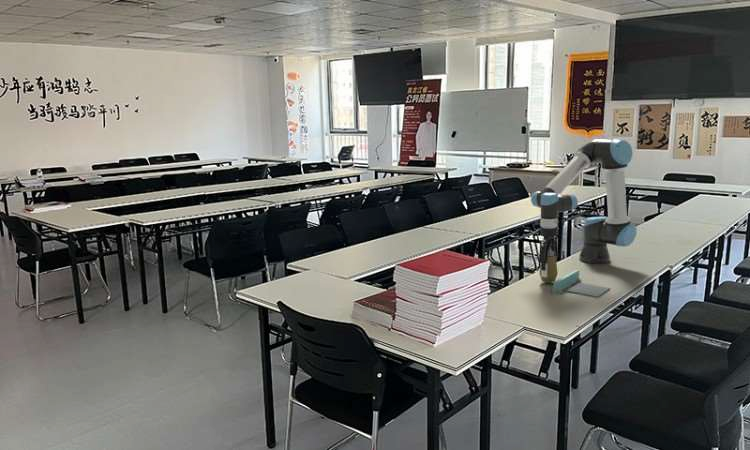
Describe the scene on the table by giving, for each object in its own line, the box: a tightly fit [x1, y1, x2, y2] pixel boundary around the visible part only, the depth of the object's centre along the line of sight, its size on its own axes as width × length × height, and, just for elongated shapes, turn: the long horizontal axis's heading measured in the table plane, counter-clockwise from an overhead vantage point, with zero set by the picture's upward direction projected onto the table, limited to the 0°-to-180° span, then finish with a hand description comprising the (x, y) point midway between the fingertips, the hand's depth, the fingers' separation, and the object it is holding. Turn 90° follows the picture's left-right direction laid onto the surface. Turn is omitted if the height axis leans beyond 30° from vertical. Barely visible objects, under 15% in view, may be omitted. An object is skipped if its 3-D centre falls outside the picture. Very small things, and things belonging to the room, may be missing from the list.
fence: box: [550, 269, 582, 295], centre depth 253 cm, size 4×24×5 cm, turn 138°
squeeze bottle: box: [538, 248, 558, 284], centre depth 258 cm, size 8×8×18 cm
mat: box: [565, 282, 611, 299], centre depth 247 cm, size 14×14×1 cm
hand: (548, 274), depth 259 cm, fingers closed on squeeze bottle, 8 cm apart
